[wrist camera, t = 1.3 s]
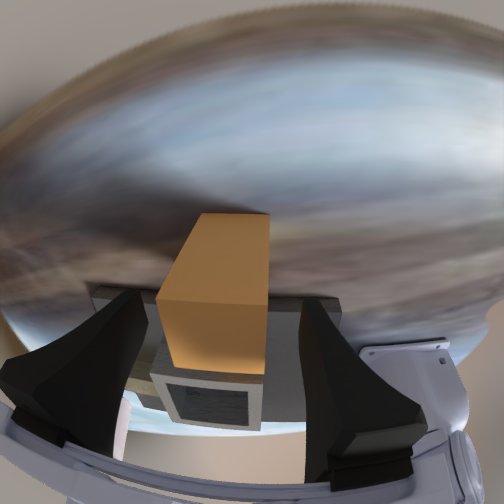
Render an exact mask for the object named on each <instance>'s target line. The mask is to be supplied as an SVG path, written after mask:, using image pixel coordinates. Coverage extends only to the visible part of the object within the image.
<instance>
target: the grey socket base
mask: <svg viewBox="0 0 504 504" xmlns="http://www.w3.org/2000/svg"><path fill="white" fill-rule="evenodd" d="M126 289H127V288H116V287H106V286H99V288H98V289H97V290H96V292H95V293H94V295H93V296H92V297H91V298H92V300H93V303H94V306H95V308H96V311H97V312H98V311H99V310H101V309H102V308H103V307H104V306H106V305H107V304H108V303H109V302H111V301H112V300H113V299H114V298H116V297H117V296H118V295H120V294H121V293H122V292H124V291H125V290H126ZM158 293H159V291H150V290H140V294H141V297H142V301H143V304H144V308H145V311H146V315H147V318H148V321H149V324H148V328H147V332H146V335H145V339H144V342H143V344H142V347H141V349H140V351H139V354H138V356H137V358H136V361H135V363H134V365H133V368H132V370H131V372H130V375H129V377H128V380H127V383H126V385H125V389H124V390H127V391H131V392H135V393H136V394H137V396H138V398H139V400H140V401H141V403H142V405H143V406H144V407H146V408H151V409H156V410H161V411H167V412H168V414H169V416H170V418H171V420H172V422H176V423H183V424H189V425H196V426H204V427H212V428H222V429H233V430H248V431H260V427H261V422H306V400H305V391H304V384H303V377H302V370H301V363H300V356H299V341H298V330H299V323H300V317H301V310H302V303H303V298H281V297H268V311H267V332H266V351H265V369H264V374H246V373H230V372H217V371H206V370H197V369H188V368H180V367H175V366H174V363H173V360H172V357H171V354H170V350H169V347H168V343H167V340H166V337H165V333H164V329H163V326H162V322H161V318H160V315H159V311H158V307H157V303H156V299H155V298H156V297H157V295H158ZM318 299H319V300H320V301H321V303H322V305H323V307H324V309H325V310H326V312H327V314H328V315H329V317H330V318H331V320H332V321H333V323H334V324H335V326H336V327H337V329H338V327H339V323H340V319H341V315H342V310H341V306H340V303H339V299H338V298H318Z"/></svg>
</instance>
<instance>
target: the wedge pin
mask: <svg viewBox="0 0 504 504" xmlns="http://www.w3.org/2000/svg"><path fill="white" fill-rule="evenodd" d="M269 227H270V215H268V214H222V213H202V214H201V215H200V217H199V219H198V221H197V222H196V224H195V226H194V228H193V229H192V231H191V233H190V235H189V237H188V238H187V240H186V242H185V244H184V246H183V247H182V249H181V251H180V253H179V255H178V257H177V258H176V260H175V262H174V264H173V266H172V268H171V270H170V271H169V273H168V275H167V277H166V279H165V281H164V283H163V285H162V287H161V289H160V291H159V293H158V295H157V297H156V298H155V299H156V303H157V307H158V311H159V315H160V318H161V322H162V326H163V329H164V333H165V337H166V340H167V343H168V347H169V350H170V354H171V357H172V360H173V363H174V366H175V367H180V368H188V369H197V370H206V371H217V372H230V373H246V374H264V369H265V351H266V332H267V311H268V277H269Z"/></svg>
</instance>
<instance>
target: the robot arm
mask: <svg viewBox="0 0 504 504" xmlns="http://www.w3.org/2000/svg"><path fill="white" fill-rule="evenodd" d="M148 324H149V321H148V318H147V315H146V311H145V308H144V304H143V301H142V297H141V294H140V290H139V289H126V290H125V291H124V292H122V293H121V294H120V295H118V296H117V297H116V298H114V299H113V300H112V301H111V302H109V303H108V304H107V305H106V306H104V307H103V308H102V309H101V310H99V311H98V312H97V313H96V314H94V315H93V316H92V317H90V318H89V319H88V320H86V321H85V322H84V323H82V324H81V325H80V326H78V327H77V328H75V329H74V330H72V331H71V332H69V333H67V334H66V335H64V336H62V337H61V338H59V339H57V340H55V341H53V342H51V343H49V344H47V345H46V346H43V347H41V348H39V349H37V350H34V351H32V352H29V353H26V354H24V355H21V356H17V357H14V358H11V359H7V360H6V361H5V363H4V364H3V366H2V368H1V369H0V389H1V390H2V391H3V392H4V393H5V395H6V396H7V397H8V398H9V399H10V400H11V401H12V402H13V403H14V404H15V405H16V408H15V410H13V409H12V408H10V407H9V406H7V405H6V404H4V403H2V402H1V401H0V455H2V456H3V457H4V458H6V459H7V460H8V461H10V462H11V463H12V464H14V465H15V466H17V467H18V468H20V469H21V470H23V471H24V472H26V473H27V474H29V475H30V476H32V477H33V478H35V479H37V480H38V481H40V482H42V483H43V484H45V485H47V486H48V487H50V488H52V489H54V490H56V491H57V492H59V493H61V494H63V495H65V496H67V497H68V498H67V502H66V504H202V503H197V502H191V501H187V500H182V499H177V498H173V497H168V496H164V495H160V494H156V493H152V492H148V491H144V490H141V489H137V488H134V487H130V486H127V485H123V484H120V483H117V482H116V481H114V480H112V479H111V478H110V477H109V476H108V475H105V474H103V473H106V474H109V475H112V476H115V477H118V478H121V479H124V480H127V481H130V482H134V483H137V484H141V485H144V486H148V487H152V488H156V489H160V490H165V491H169V492H174V493H179V494H184V495H190V496H196V497H203V498H210V499H218V500H228V501H240V502H260V503H252V504H483V502H484V489H483V485H482V476H481V470H480V465H479V462H478V458H477V455H476V452H475V449H474V446H473V444H472V441H471V439H470V437H469V436H468V434H467V433H466V432H462V430H463V429H464V427H465V425H466V423H467V420H468V416H469V400H468V395H467V392H466V390H465V387H464V385H463V383H462V381H461V378H460V376H459V374H458V372H457V369H456V367H455V365H454V363H453V361H452V359H451V357H450V355H449V353H448V351H447V348H448V347H449V345H450V342H449V340H448V339H446V340H438V341H430V342H421V343H411V344H400V345H388V346H373V347H364V348H363V349H361V351H360V353H359V356H358V354H357V353H356V352H355V351H354V350H353V349H352V347H351V346H350V345H349V344H348V342H347V341H346V340H345V338H344V337H343V336H342V334H341V333H340V332H339V330H338V329H337V327H336V326H335V324H334V323H333V321H332V320H331V318H330V317H329V315H328V314H327V312H326V310H325V309H324V307H323V305H322V303H321V301H320V300H319V299H318V298H309V297H303V303H302V310H301V317H300V323H299V330H298V341H299V356H300V363H301V370H302V377H303V384H304V391H305V400H306V464H305V481H304V484H246V483H233V482H222V481H213V480H206V479H199V478H192V477H186V476H180V475H175V474H170V473H165V472H161V471H156V470H152V469H148V468H144V467H140V466H136V465H133V464H129V463H126V462H123V461H119V460H116V459H113V450H114V439H115V431H116V425H117V419H118V414H119V409H120V404H121V400H122V396H123V393H124V389H125V385H126V383H127V380H128V377H129V375H130V372H131V370H132V368H133V365H134V363H135V361H136V358H137V356H138V354H139V351H140V349H141V347H142V344H143V342H144V339H145V335H146V332H147V328H148ZM92 468H93V469H92ZM94 469H95V470H94ZM97 470H98V471H97ZM99 471H101V472H103V473H101V472H99Z"/></svg>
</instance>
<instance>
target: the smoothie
mask: <svg viewBox="0 0 504 504" xmlns="http://www.w3.org/2000/svg"><path fill="white" fill-rule="evenodd" d="M131 409H132V404H131V403H130V402H129V401H128V400H127V399H125V398H124V397H122V400H121V404H120V409H119V414H118V419H117V425H116V431H115V439H114V450H113V459H116V460H119V461H122V458H123V454H124V447H125V441H126V435H127V430H128V424H129V419H130V414H131ZM92 469H93V468H92ZM94 470H95V469H94Z"/></svg>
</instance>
